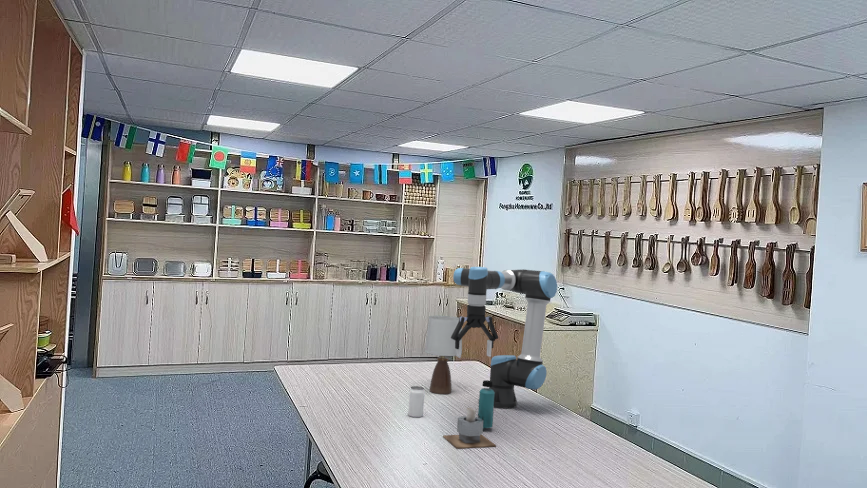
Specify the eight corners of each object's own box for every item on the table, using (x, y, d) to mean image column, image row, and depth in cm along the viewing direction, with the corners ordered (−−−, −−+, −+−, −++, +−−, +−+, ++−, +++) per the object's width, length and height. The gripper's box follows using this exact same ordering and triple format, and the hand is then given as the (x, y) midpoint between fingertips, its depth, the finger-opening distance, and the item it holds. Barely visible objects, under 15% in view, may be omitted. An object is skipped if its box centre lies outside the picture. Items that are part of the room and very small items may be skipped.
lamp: (466, 394, 325) (471, 320, 324) (435, 397, 314) (440, 321, 314) (444, 385, 340) (449, 315, 340) (414, 388, 330) (419, 315, 329)
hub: (475, 428, 256) (476, 415, 256) (485, 435, 247) (486, 422, 247) (454, 429, 252) (455, 416, 252) (463, 436, 244) (464, 423, 244)
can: (421, 418, 277) (423, 390, 277) (406, 416, 278) (408, 388, 278) (424, 414, 284) (426, 387, 283) (409, 412, 285) (411, 385, 285)
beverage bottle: (494, 428, 269) (497, 380, 269) (490, 432, 263) (493, 383, 263) (478, 426, 272) (482, 378, 271) (474, 430, 265) (478, 381, 265)
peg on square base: (480, 435, 259) (482, 403, 259) (496, 446, 246) (498, 413, 246) (442, 437, 254) (445, 404, 253) (456, 448, 240) (459, 414, 240)
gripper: (499, 303, 275) (496, 353, 275) (444, 303, 266) (442, 355, 266) (508, 306, 268) (505, 357, 268) (452, 306, 259) (449, 359, 259)
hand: (473, 356), depth 267 cm, fingers open, 13 cm apart
